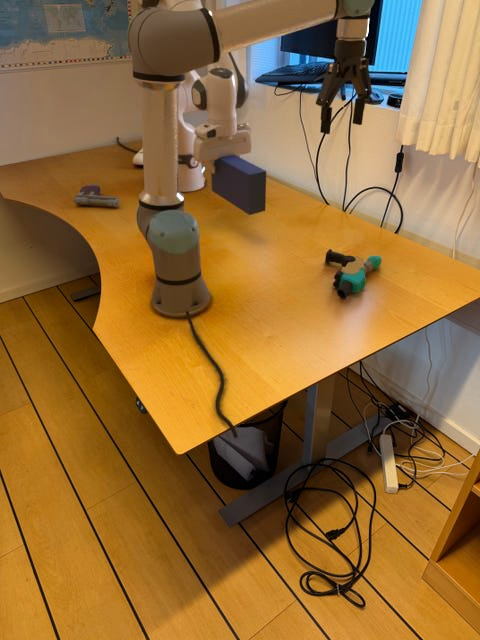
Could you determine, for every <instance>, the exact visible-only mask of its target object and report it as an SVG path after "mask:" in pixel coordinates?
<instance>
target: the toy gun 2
mask: <svg viewBox="0 0 480 640" xmlns="http://www.w3.org/2000/svg"><path fill="white" fill-rule="evenodd" d="M382 259H383V258H382V257H381V256H380V255H375V254H374V255H370V256H369V257H368V258H367V259H366V261H364V258H363V257H360V256H355V255H354V256H353V255H345V254H344V253H340V252H337V251H334V250H333V249H332V248H329V249H328V250H327V251H326V253H325V258H324V263H325V264H327V265H329V264H330V263H334V264H338V265H340V266H341V268H340V270H338V271H336V273H335V274H334V275H333V279H334V281H333V283H332V286H333V287H334V288H335V289H337V290H336V294H337V296H338V297H339V298H340V299H341V300H343V301H345V300H347V298H348V297H349V296H350V295H351V294H352V293H354V294H358V293H359V292H360V291H363V288H364V287H365V286H366V283H367V278H366V274H368V273H370V272H371V271H372V270H377V269H378V268H379V267H380V266H381V265H382V262H383V260H382Z"/></svg>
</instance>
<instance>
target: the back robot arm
mask: <svg viewBox="0 0 480 640" xmlns="http://www.w3.org/2000/svg"><path fill="white" fill-rule="evenodd" d="M137 3H138V5H139V6H140V8H142V10H143V9H146V8H149V7H158V8H164V9H166V10H171V11H192V10H197V9H201V8H204V7H203V4H202V2H201V0H137ZM216 64H217V66H218V67H214V68H211V69H210V70H209V71H207V75H205V76H202V77H201V76H200V75H199V74H198V73H197V71H196V70H193V71H190V72H187V73H185V82H184V83H183V84H182V85H181V86H180V87H179V89H178V190H179V191H180V192H181V193H186V192H187V193H188V192H194V191H198V190H200V189H203V188H204V187H205V182H206V178H205V177H204V172H205V169H206V168H205V166H202V164H203V163H207V164H208V165H209V167H210V173H211V172H212V173H213V174H215V173H217V172H218V171H217V167H215V166H214V165H213V164H214V160H218V158H221V157H226V156H230V155H236V156H238V157H240V158H241V156H242V155H247V154H251V152H252V151H253V144H252V143H253V142H252V135H251V134H252V127H251V126H250V125H249V124H248V123H240V124H238V116H237V110H236V109H242V107H243V106H244V105H245V104H246V102H247V100H248V98H249V95H250V91H249V90H250V89H249V85H248V83H247V80H246V78H245V77H244V76H243V74H242V73H241V71H240V68H239V67H238V65H237V63H236V60H235V58H234V56H233V54H232V52H229V53H226V54H223V55H222V57H221V59H220V61H219V62H216ZM199 111H202V112H208V117H207V119H208V120H206V121H204V122H203V123H201V124H200V125H198V126H196V127H195V126H194V125H193V124H191V123H189V122H186V121H185V120H184V114H188V113H195V112H199ZM116 142H117V144H118V145H120V146H121V147H122V148H125V149H126V150H129V151H130V152H134V153H136V154H137V153H138V152H139V151H138V150H135V149H133V148H130V147H128V146H125V145H124V144H123V143H121V142H120V141H119V136H116Z"/></svg>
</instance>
